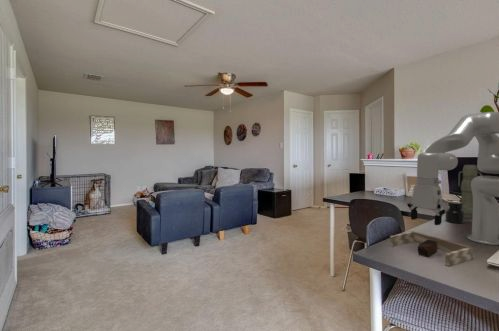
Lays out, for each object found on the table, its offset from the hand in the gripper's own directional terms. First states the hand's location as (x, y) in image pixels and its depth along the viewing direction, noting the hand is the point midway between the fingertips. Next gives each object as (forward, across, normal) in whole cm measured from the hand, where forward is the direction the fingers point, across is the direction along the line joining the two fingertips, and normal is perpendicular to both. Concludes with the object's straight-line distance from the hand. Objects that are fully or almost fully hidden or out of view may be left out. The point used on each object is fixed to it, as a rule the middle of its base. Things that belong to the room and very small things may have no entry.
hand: (425, 221), depth 110 cm
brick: (+14, -1, -1) cm, 14 cm away
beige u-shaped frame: (+13, 0, -3) cm, 14 cm away
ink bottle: (+12, +23, -68) cm, 73 cm away
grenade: (+12, +26, -90) cm, 94 cm away
